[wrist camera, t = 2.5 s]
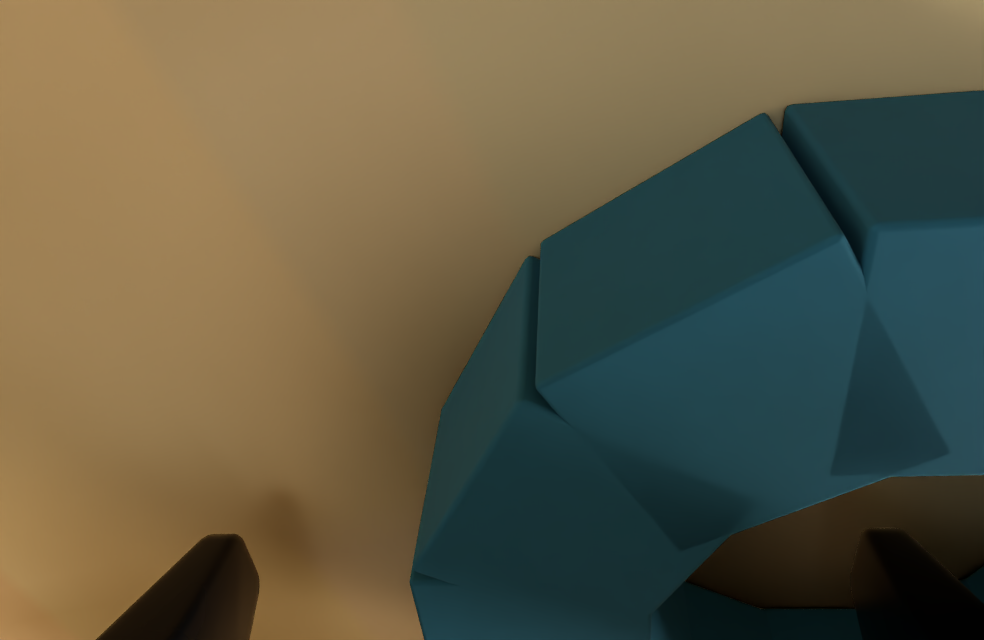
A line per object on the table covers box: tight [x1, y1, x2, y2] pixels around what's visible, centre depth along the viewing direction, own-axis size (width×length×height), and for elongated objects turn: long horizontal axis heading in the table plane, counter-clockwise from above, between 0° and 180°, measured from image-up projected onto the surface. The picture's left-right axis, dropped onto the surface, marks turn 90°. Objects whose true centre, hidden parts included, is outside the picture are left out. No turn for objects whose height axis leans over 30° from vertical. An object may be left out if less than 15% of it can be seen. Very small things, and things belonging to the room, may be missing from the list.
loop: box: [410, 90, 984, 640], centre depth 9 cm, size 10×10×2 cm
